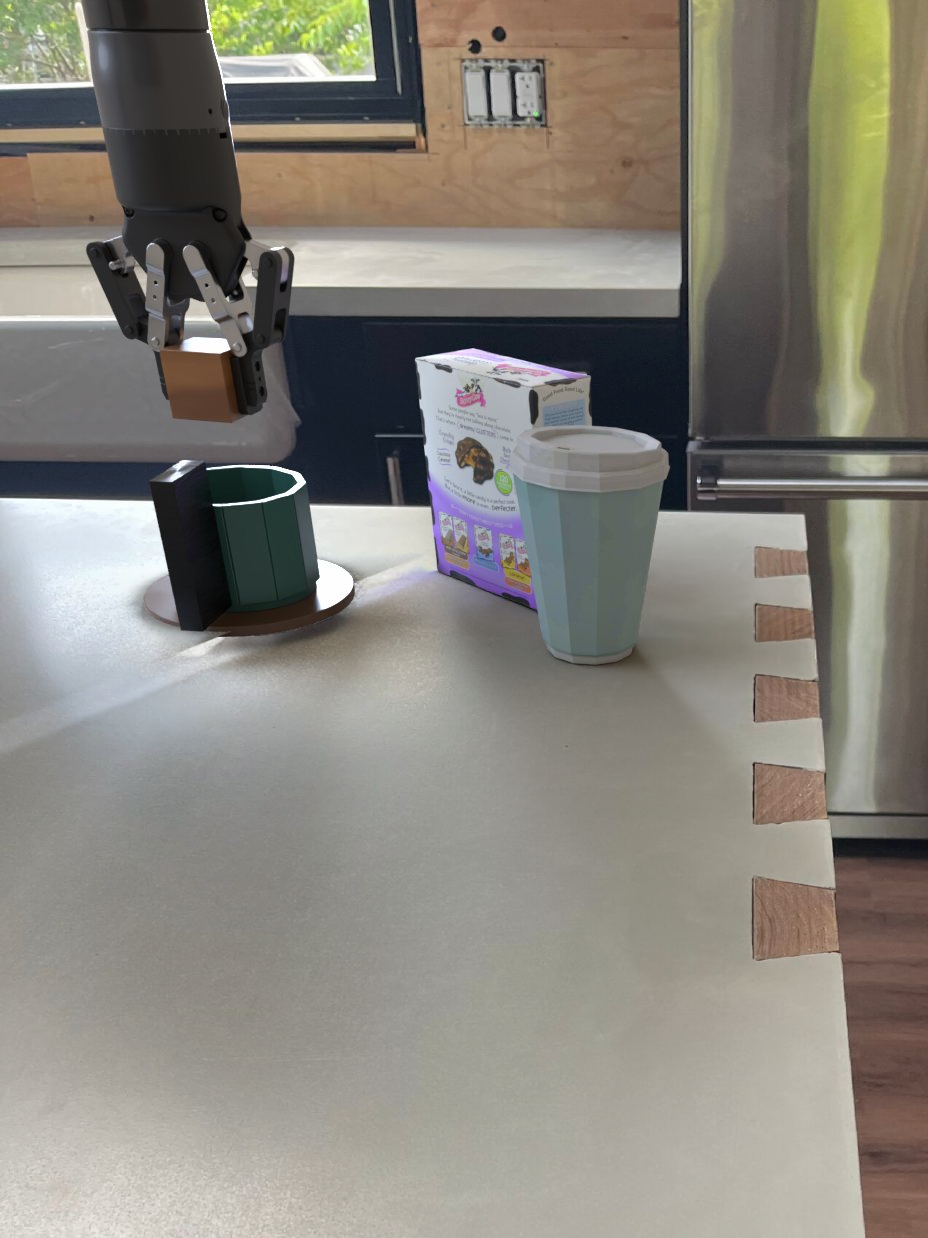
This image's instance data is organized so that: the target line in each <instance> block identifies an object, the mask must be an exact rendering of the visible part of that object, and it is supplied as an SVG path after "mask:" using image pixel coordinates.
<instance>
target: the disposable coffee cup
mask: <svg viewBox="0 0 928 1238" xmlns="http://www.w3.org/2000/svg"><path fill="white" fill-rule="evenodd" d="M508 469H509V470H510V471H511V472H513V476H514V482H515V487H516V493H517V499H518V504H519V510H520V515H521V521H522V527H523V532H524V538H525V543H526V549H527V555H528V560H529V566H530V571H531V577H532V583H533V588H534V594H535V599H536V605H537V614H538V621H539V627H540V632H541V638H542V640H543V641H544V642H545V645H546V648H547V650H548V651H549V652H550V653H551V654H552V655H553V657H554V658H557V659H559V660H563V661H565V662H568V663H572V664H581V665H595V666H597V665H603V664H610V663H617V662H620V661H621V660H623V659H625V658H627V657H629V656H631V655H632V652H633V648H634V646H636V645H637V644H636V643H637V640H638V637H639V633H640V627H641V626H640V625H641V620H642V616H643V615H642V613H643V608H644V602H645V595H646V590H647V583H648V578H649V573H650V572H649V571H650V565H651V561H652V554H653V547H654V541H655V535H656V529H657V524H658V518H659V511H660V504H661V499H662V493H663V486H664V481H665V480H667V477H668V475H669V472H670V469H671V465H670V464H669V452H667V450H665V448H663V447H662V442H661V441H660V440H658V439H656V438H654V437H652V436H651V435H648V434H646V433H643V432H638V431H634V430H630V429H625V428H620V427H612V426H610V427H609V426H600V425H592V426H588V425H568V426H546V427H541V428H535V429H530V430H525V431H524V432H523V433H521V434H520V435H519V436H518V437H517V445H516V447H515V448H514V450H513V451H512V453H511V454H510V466H509V468H508Z"/></svg>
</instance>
